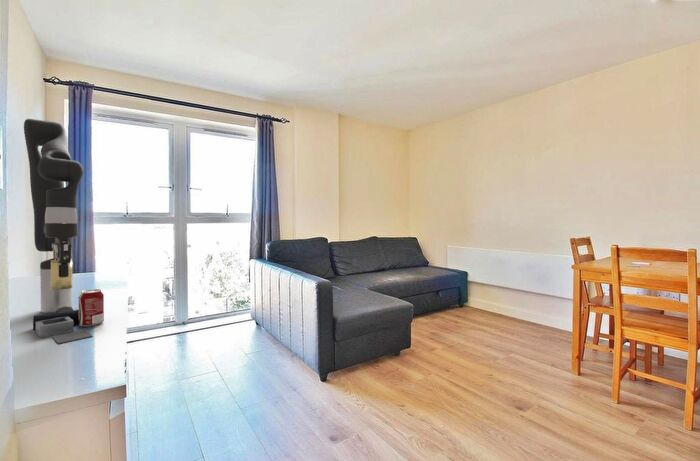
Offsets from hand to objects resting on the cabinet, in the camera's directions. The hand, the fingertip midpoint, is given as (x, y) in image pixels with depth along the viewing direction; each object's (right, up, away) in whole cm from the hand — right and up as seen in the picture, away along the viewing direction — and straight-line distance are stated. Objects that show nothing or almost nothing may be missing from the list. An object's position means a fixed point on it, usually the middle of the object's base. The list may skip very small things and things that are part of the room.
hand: (61, 276), depth 98 cm
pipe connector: (-11, -19, +13) cm, 26 cm away
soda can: (0, -19, +11) cm, 22 cm away
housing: (-6, -19, +4) cm, 20 cm away
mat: (+4, -19, -1) cm, 20 cm away
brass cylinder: (0, -4, 0) cm, 4 cm away
